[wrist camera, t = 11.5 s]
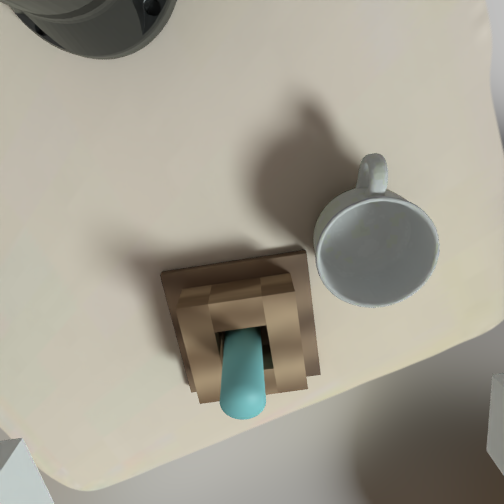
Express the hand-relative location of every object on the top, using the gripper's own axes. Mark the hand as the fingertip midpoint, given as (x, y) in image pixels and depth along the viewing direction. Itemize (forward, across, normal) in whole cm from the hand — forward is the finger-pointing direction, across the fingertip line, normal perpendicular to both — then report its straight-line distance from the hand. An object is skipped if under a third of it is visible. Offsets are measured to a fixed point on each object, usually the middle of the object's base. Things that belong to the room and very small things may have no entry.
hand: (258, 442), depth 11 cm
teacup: (+32, +11, -4) cm, 34 cm away
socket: (+32, -3, -15) cm, 35 cm away
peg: (+31, -3, -15) cm, 34 cm away
